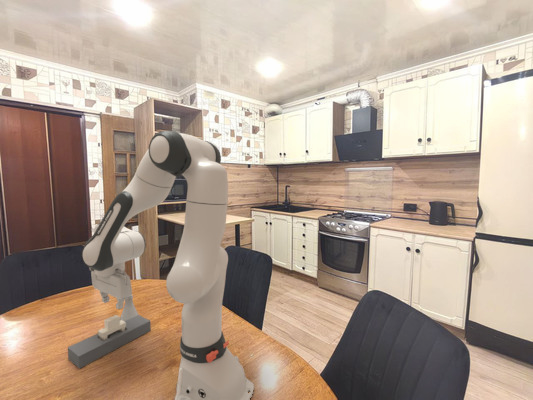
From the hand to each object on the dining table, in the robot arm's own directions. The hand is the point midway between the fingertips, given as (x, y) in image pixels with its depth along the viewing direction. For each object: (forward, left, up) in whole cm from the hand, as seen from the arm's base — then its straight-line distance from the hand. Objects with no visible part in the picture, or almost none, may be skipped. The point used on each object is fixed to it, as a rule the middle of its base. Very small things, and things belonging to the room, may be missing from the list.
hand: (112, 305), depth 89 cm
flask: (+11, -12, -15) cm, 22 cm away
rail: (0, 0, -14) cm, 14 cm away
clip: (0, 0, -14) cm, 14 cm away
